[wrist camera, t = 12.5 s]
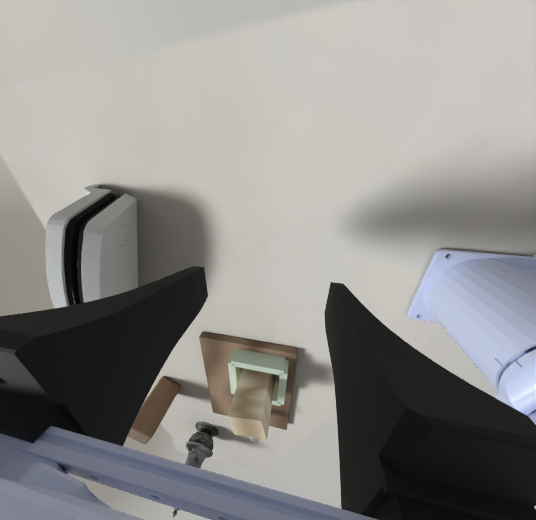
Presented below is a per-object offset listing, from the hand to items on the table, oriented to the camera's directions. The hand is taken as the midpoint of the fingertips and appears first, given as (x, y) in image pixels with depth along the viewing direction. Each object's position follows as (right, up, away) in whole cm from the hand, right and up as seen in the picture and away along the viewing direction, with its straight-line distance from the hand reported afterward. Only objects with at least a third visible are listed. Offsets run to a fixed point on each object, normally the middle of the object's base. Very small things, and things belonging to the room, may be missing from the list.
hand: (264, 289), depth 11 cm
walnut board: (-3, -19, +21) cm, 28 cm away
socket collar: (-1, -15, +17) cm, 23 cm away
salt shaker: (-13, -35, +31) cm, 49 cm away
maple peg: (-1, -15, +17) cm, 23 cm away
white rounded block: (-18, +2, +14) cm, 23 cm away
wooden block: (-19, -22, +26) cm, 39 cm away
